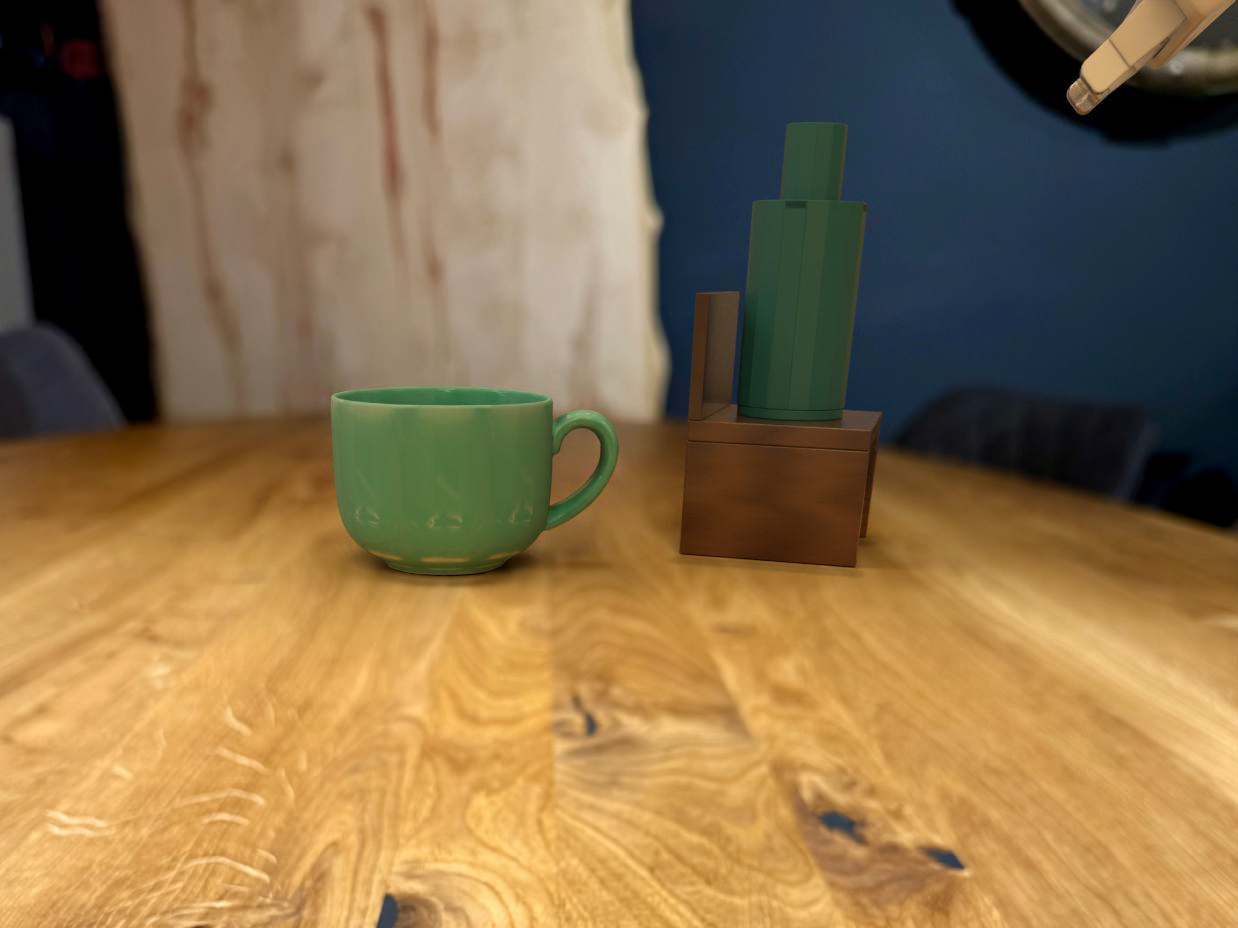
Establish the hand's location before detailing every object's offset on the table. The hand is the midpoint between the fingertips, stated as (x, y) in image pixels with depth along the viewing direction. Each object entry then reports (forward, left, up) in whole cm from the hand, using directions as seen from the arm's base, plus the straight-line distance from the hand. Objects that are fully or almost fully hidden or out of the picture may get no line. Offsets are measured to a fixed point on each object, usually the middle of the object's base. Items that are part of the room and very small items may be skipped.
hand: (1079, 94), depth 72 cm
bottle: (+13, -5, -17) cm, 23 cm away
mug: (+33, +3, -26) cm, 42 cm away
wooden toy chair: (+13, -5, -25) cm, 29 cm away
